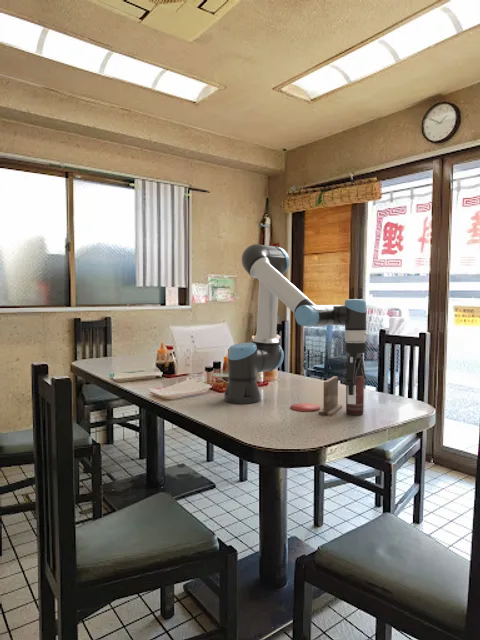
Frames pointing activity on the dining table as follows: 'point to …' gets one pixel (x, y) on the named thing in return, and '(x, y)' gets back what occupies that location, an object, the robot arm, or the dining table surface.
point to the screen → (330, 397)
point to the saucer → (305, 407)
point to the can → (357, 398)
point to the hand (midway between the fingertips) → (355, 400)
